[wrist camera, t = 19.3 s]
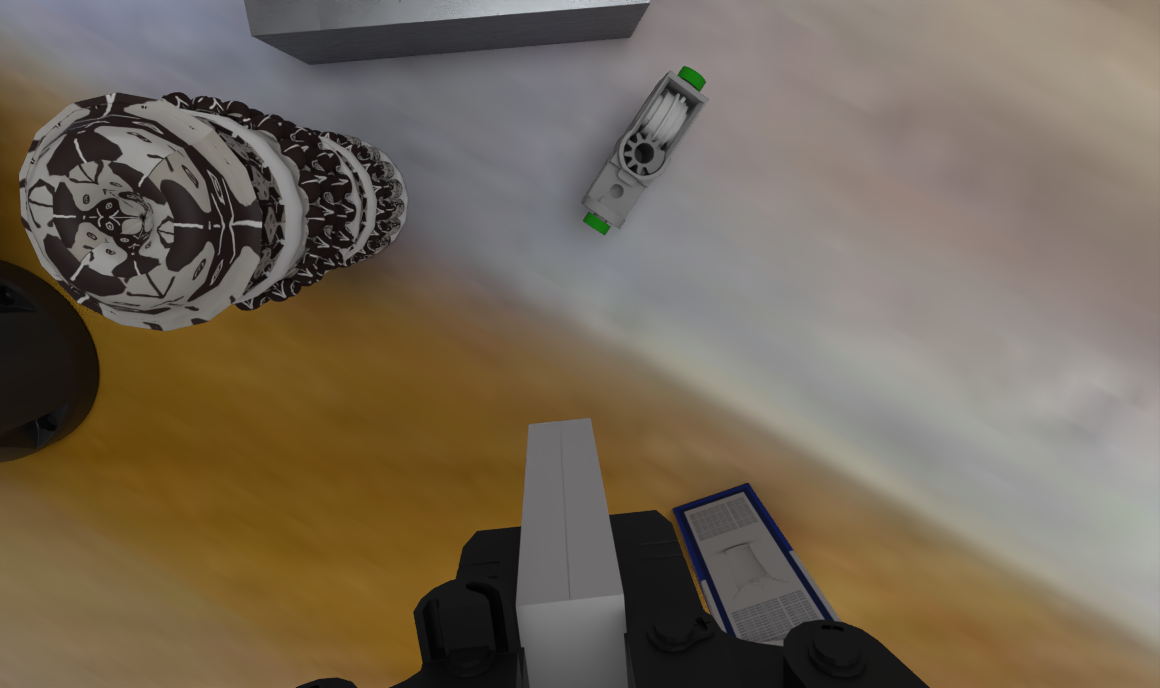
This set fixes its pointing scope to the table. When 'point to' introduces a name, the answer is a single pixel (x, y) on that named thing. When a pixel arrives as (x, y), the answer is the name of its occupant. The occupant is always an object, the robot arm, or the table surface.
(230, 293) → the decorative candle
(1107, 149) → the table surface
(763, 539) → the milk carton
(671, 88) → the mechanical component
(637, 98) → the table surface
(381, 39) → the hitch block
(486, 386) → the table surface
